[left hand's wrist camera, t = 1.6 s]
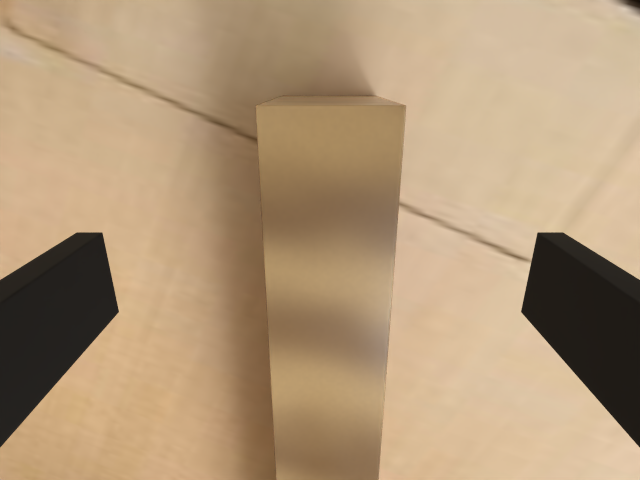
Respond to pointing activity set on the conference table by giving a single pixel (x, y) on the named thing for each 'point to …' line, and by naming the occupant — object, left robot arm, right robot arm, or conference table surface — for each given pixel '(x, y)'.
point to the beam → (329, 276)
